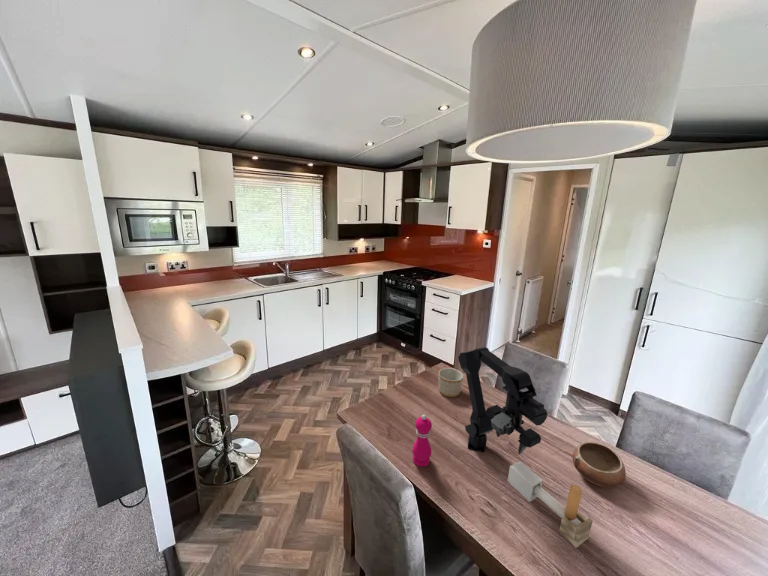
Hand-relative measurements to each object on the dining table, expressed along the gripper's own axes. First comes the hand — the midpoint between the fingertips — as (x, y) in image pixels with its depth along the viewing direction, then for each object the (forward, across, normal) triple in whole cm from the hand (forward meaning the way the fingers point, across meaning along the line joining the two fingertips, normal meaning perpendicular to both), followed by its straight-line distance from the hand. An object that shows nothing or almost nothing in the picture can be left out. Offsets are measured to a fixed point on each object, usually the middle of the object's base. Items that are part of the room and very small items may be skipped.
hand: (508, 444), depth 108 cm
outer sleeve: (+13, +7, +1) cm, 15 cm away
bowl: (+13, +16, +30) cm, 36 cm away
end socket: (+13, +24, +1) cm, 28 cm away
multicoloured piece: (+10, +18, +1) cm, 20 cm away
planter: (+13, -50, +16) cm, 54 cm away
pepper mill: (+13, -19, -23) cm, 33 cm away
